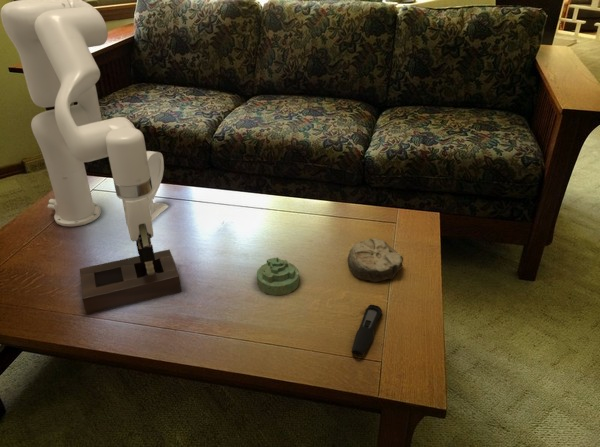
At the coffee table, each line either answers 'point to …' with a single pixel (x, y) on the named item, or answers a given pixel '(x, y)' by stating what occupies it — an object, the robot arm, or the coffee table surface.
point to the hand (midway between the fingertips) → (146, 256)
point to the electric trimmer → (366, 330)
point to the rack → (127, 282)
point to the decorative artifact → (277, 277)
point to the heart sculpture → (155, 181)
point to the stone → (374, 260)
